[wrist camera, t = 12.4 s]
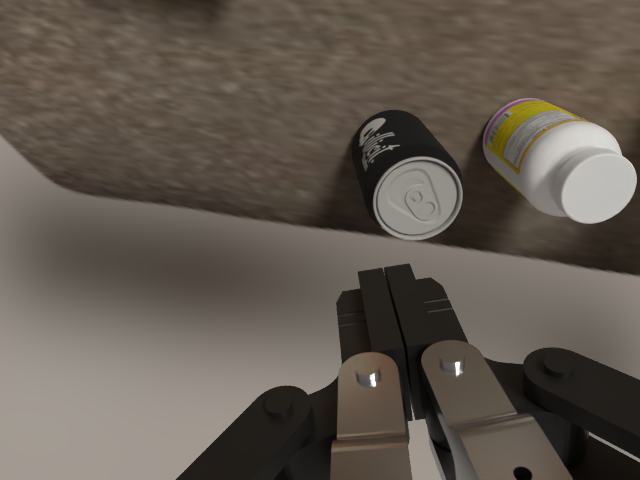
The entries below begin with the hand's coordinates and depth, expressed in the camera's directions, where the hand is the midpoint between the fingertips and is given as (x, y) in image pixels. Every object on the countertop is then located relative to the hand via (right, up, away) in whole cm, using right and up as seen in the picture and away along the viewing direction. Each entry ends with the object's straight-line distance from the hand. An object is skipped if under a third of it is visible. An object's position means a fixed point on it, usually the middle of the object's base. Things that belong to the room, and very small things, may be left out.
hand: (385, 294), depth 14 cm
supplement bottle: (+15, +11, +28) cm, 33 cm away
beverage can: (+4, +10, +28) cm, 30 cm away
